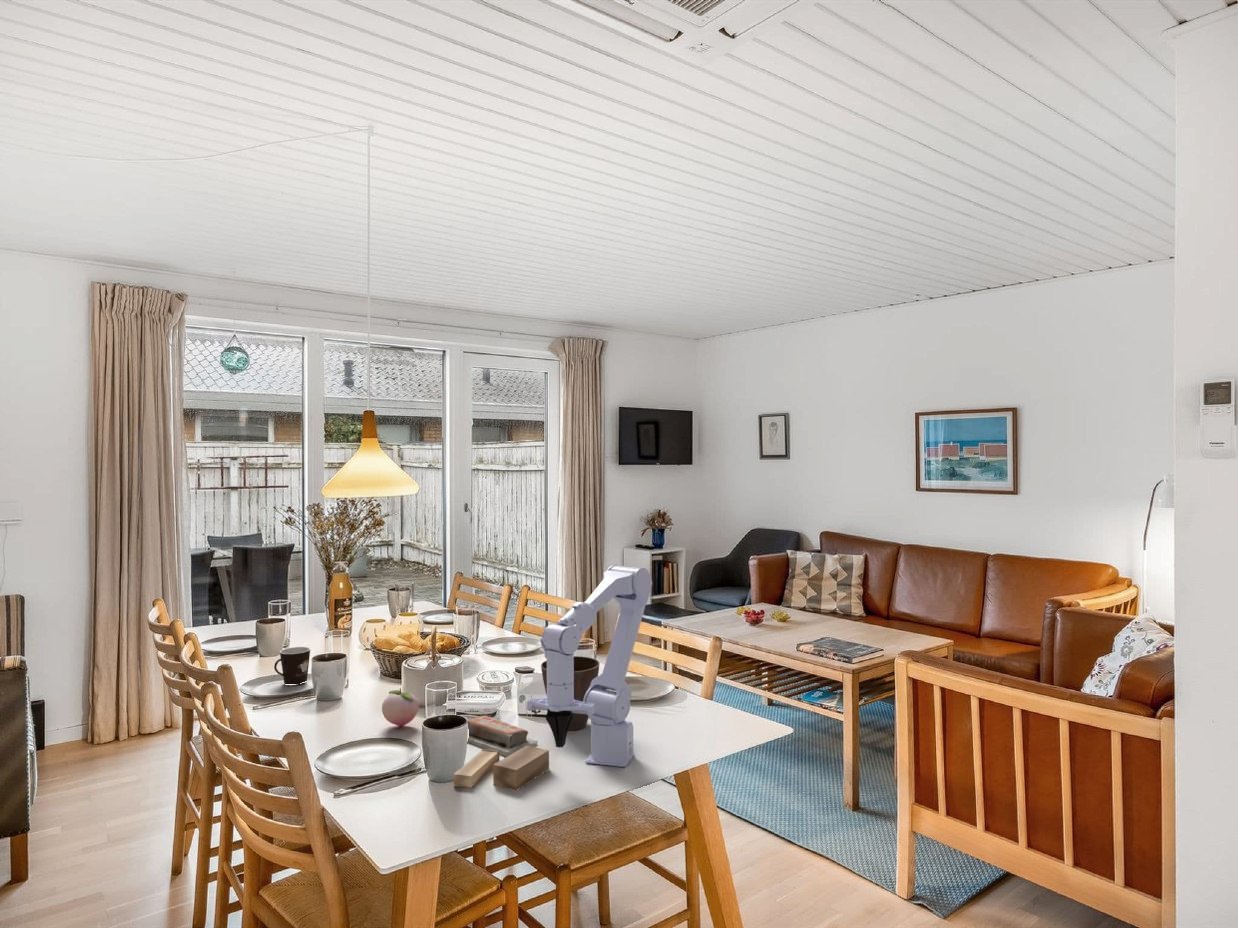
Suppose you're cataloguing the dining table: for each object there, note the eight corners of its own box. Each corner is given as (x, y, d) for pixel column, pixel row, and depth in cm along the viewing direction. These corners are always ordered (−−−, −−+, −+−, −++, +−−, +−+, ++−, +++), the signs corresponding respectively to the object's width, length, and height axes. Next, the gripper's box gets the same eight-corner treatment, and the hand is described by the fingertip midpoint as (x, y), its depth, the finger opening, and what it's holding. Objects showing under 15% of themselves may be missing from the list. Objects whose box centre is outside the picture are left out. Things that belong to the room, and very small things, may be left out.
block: (549, 770, 170) (548, 750, 170) (516, 791, 159) (516, 769, 159) (526, 765, 173) (526, 745, 173) (493, 785, 162) (493, 764, 162)
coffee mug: (304, 677, 242) (304, 645, 242) (315, 682, 236) (314, 650, 236) (265, 684, 234) (265, 651, 234) (275, 690, 228) (275, 657, 228)
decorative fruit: (374, 729, 195) (373, 690, 195) (396, 719, 203) (396, 681, 202) (403, 735, 191) (402, 695, 191) (424, 724, 198) (424, 686, 198)
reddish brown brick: (457, 721, 188) (488, 710, 196) (457, 740, 189) (488, 729, 196) (506, 738, 177) (538, 726, 184) (506, 759, 177) (538, 746, 185)
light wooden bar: (499, 761, 174) (499, 750, 174) (471, 787, 161) (471, 775, 161) (483, 760, 175) (482, 748, 175) (453, 785, 162) (453, 773, 162)
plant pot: (544, 738, 188) (544, 673, 188) (538, 718, 203) (538, 657, 203) (605, 733, 191) (604, 669, 191) (594, 713, 206) (594, 654, 206)
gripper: (521, 684, 162) (521, 748, 162) (587, 689, 158) (587, 755, 158) (533, 675, 168) (534, 737, 168) (597, 680, 164) (597, 743, 165)
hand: (560, 745), depth 164 cm, fingers closed
